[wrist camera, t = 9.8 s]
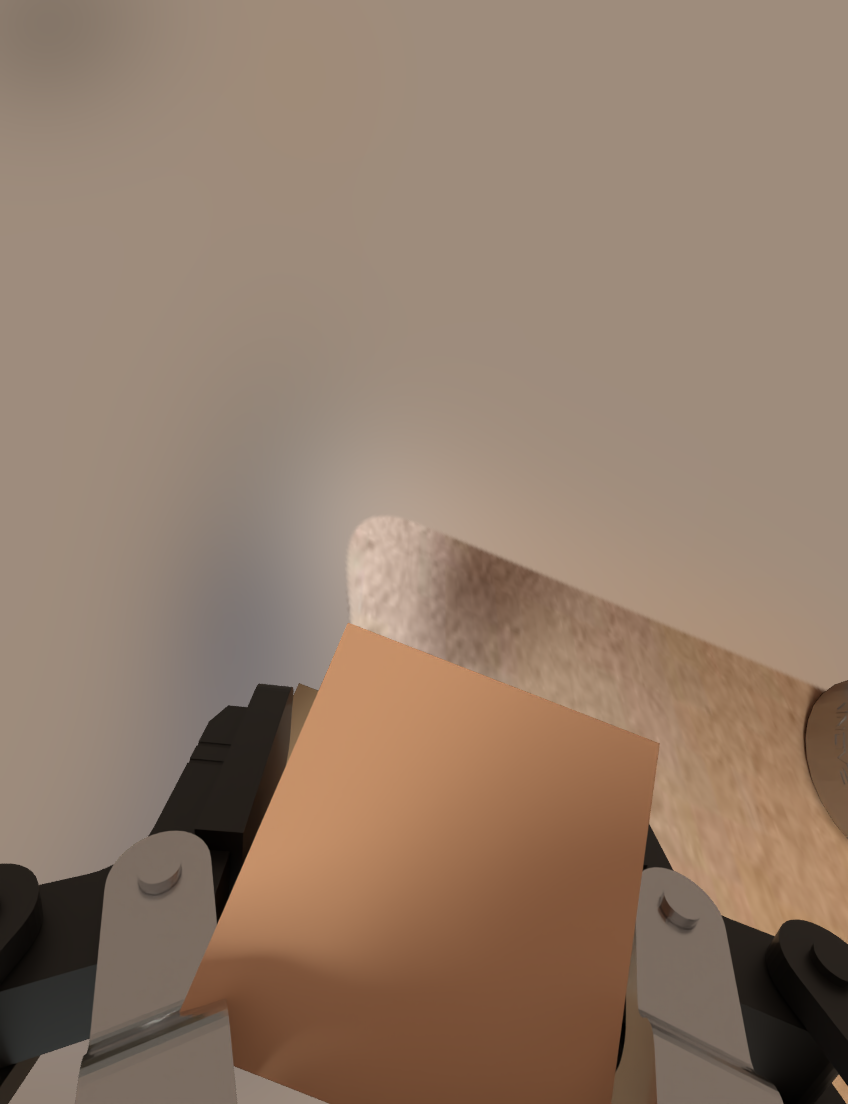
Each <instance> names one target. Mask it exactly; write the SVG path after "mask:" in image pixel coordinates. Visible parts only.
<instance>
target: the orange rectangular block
mask: <svg viewBox="0 0 848 1104" xmlns="http://www.w3.org/2000/svg"><path fill="white" fill-rule="evenodd" d="M658 752H659V743H657V742H654V741H652V740H649V739H647V738H644V737H641V736H639V735H636V734H634V733H631V732H629V731H626V730H623V729H621V728H618V727H616V726H613V725H610V724H608V723H605V722H603V721H600V720H598V719H595V718H592V717H590V716H587V715H585V714H582V713H580V712H577V711H574V710H572V709H569V708H567V707H564V706H561V705H559V704H556V703H554V702H551V701H549V700H546V699H543V698H541V697H538V696H536V695H533V694H531V693H528V692H525V691H523V690H520V689H518V688H515V687H512V686H510V685H507V684H505V683H502V682H500V681H497V680H494V679H492V678H489V677H487V676H484V675H482V674H479V673H476V672H474V671H471V670H469V669H466V668H464V667H461V666H458V665H456V664H453V663H451V662H448V661H445V660H443V659H440V658H438V657H435V656H433V655H430V654H427V653H425V652H422V651H420V650H417V649H415V648H412V647H409V646H407V645H404V644H402V643H399V642H396V641H394V640H391V639H389V638H386V637H384V636H381V635H378V634H376V633H373V632H371V631H368V630H366V629H363V628H360V627H358V626H355V625H353V624H350V623H348V624H347V626H346V629H345V631H344V633H343V636H342V638H341V640H340V643H339V645H338V647H337V649H336V652H335V654H334V656H333V659H332V661H331V663H330V666H329V668H328V670H327V672H326V675H325V677H324V679H323V682H322V684H321V686H320V689H319V691H318V693H317V696H316V698H315V700H314V702H313V705H312V707H311V709H310V712H309V714H308V716H307V719H306V721H305V723H304V726H303V728H302V730H301V732H300V735H299V737H298V739H297V742H296V744H295V746H294V749H293V751H292V753H291V756H290V758H289V760H288V762H287V765H286V767H285V769H284V772H283V774H282V776H281V779H280V781H279V783H278V786H277V788H276V790H275V792H274V795H273V797H272V799H271V802H270V804H269V806H268V809H267V811H266V813H265V816H264V818H263V820H262V822H261V825H260V827H259V829H258V832H257V834H256V836H255V839H254V841H253V843H252V846H251V848H250V850H249V852H248V855H247V857H246V859H245V862H244V864H243V866H242V869H241V871H240V873H239V876H238V878H237V880H236V882H235V885H234V887H233V889H232V892H231V894H230V896H229V899H228V901H227V903H226V906H225V908H224V910H223V912H222V915H221V917H220V919H219V922H218V924H217V926H216V929H215V931H214V933H213V936H212V938H211V940H210V942H209V945H208V947H207V949H206V952H205V954H204V956H203V959H202V961H201V963H200V966H199V968H198V970H197V972H196V975H195V977H194V979H193V982H192V984H191V986H190V989H189V991H188V993H187V996H186V998H185V1000H184V1002H183V1005H182V1007H181V1009H180V1012H182V1011H186V1010H190V1009H193V1008H197V1007H200V1006H204V1005H207V1004H210V1003H213V1002H216V1001H218V1000H221V999H224V998H226V1002H227V1008H228V1015H229V1024H230V1033H231V1044H232V1054H233V1065H234V1066H235V1067H238V1068H240V1069H243V1070H245V1071H248V1072H250V1073H253V1074H255V1075H258V1076H261V1077H263V1078H266V1079H268V1080H271V1081H273V1082H276V1083H279V1084H281V1085H283V1086H286V1087H289V1088H291V1089H294V1090H296V1091H299V1092H302V1093H304V1094H306V1095H309V1096H312V1097H315V1098H317V1099H319V1100H322V1101H325V1102H327V1103H329V1104H611V1101H612V1094H613V1086H614V1079H615V1071H616V1064H617V1056H618V1049H619V1042H620V1034H621V1027H622V1019H623V1012H624V1004H625V997H626V990H627V982H628V975H629V967H630V960H631V952H632V945H633V938H634V930H635V923H636V915H637V908H638V900H639V893H640V886H641V878H642V871H643V863H644V856H645V848H646V841H647V833H648V826H649V819H650V811H651V804H652V796H653V789H654V781H655V774H656V767H657V759H658Z"/></svg>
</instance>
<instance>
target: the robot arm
mask: <svg viewBox="0 0 848 1104" xmlns="http://www.w3.org/2000/svg"><path fill="white" fill-rule="evenodd" d="M292 706H293V687H286V686H277V685H267V684H258V685H257V687H256V689H255V691H254V694H253V696H252V698H251V700H250V703H249V705H248V707H239V706H227V707H226V708H225V709H224V710H222V711H221V712H220V713H219V714H218V715H216V716H215V717H214V718H213V719H212V720H210V721H209V723H208V725H207V727H206V729H205V731H204V732H203V735H202V736H201V738H200V740H199V743H198V746H196V748H195V750H194V752H193V754H192V756H191V757H190V761H189V763H187V765H186V767H185V769H184V771H183V773H182V774H181V776H180V778H179V780H178V782H177V784H176V786H175V788H174V790H173V792H172V794H171V796H170V798H169V800H168V801H167V803H166V805H165V807H164V809H163V811H162V813H161V815H160V817H159V818H158V821H157V822H156V824H155V826H154V828H153V830H152V831H151V833H150V835H149V836H148V837H147V838H144V839H142V840H141V841H139V842H137V843H136V844H134V845H133V846H132V847H130V848H129V849H128V850H126V851H125V852H124V853H123V854H122V855H121V856H120V857H119V859H118V860H117V861H116V862H115V864H114V865H112V866H110V867H108V868H105V869H102V870H100V871H97V872H94V873H90V874H87V875H82V876H78V877H73V878H69V879H64V880H60V881H55V882H51V883H46V884H42V885H38V881H37V878H36V876H35V875H34V874H33V872H32V871H30V870H29V869H27V868H25V867H23V866H20V865H16V864H0V1104H8V1103H9V1101H10V1100H11V1099H12V1097H13V1096H14V1094H15V1093H16V1091H17V1089H18V1088H19V1087H20V1085H21V1084H22V1082H23V1081H24V1079H25V1078H26V1076H27V1075H28V1073H29V1072H30V1070H31V1069H32V1067H33V1066H34V1064H35V1063H36V1061H37V1060H38V1058H39V1057H40V1055H42V1054H45V1053H48V1052H51V1051H54V1050H57V1049H60V1048H63V1047H66V1046H69V1045H72V1044H75V1043H78V1042H81V1041H84V1040H86V1039H90V1040H89V1047H88V1051H87V1054H85V1055H84V1056H83V1059H82V1062H81V1067H80V1072H79V1077H78V1084H77V1091H76V1100H75V1104H237V1097H236V1085H235V1076H234V1065H233V1054H232V1044H231V1033H230V1024H229V1015H228V1008H227V1002H226V998H224V999H221V1000H218V1001H216V1002H213V1003H210V1004H207V1005H204V1006H200V1007H197V1008H193V1009H190V1010H186V1011H182V1012H180V1009H181V1007H182V1005H183V1002H184V1000H185V998H186V996H187V993H188V991H189V989H190V986H191V984H192V982H193V979H194V977H195V975H196V972H197V970H198V968H199V966H200V963H201V961H202V959H203V956H204V954H205V952H206V949H207V947H208V945H209V942H210V940H211V938H212V936H213V933H214V931H215V929H216V926H217V924H218V922H219V919H220V917H221V915H222V912H223V910H224V908H225V906H226V903H227V901H228V899H229V896H230V894H231V892H232V889H233V887H234V885H235V882H236V880H237V878H238V876H239V873H240V871H241V869H242V866H243V864H244V862H245V859H246V857H247V855H248V852H249V850H250V848H251V846H252V843H253V841H254V839H255V836H256V834H257V832H258V829H259V827H260V825H261V822H262V820H263V818H264V816H265V813H266V811H267V809H268V806H269V804H270V802H271V799H272V797H273V795H274V792H275V790H276V788H277V786H278V783H279V781H280V779H281V776H282V774H283V772H284V769H285V767H286V763H287V757H288V751H289V744H290V732H291V719H292ZM806 752H807V761H808V765H809V769H810V773H811V777H812V781H813V783H814V785H815V788H816V790H817V792H818V795H819V797H820V800H821V802H822V804H823V805H824V807H825V808H826V810H827V812H828V813H829V815H830V817H831V818H832V820H833V822H834V823H835V824H836V825H837V827H838V828H839V829H840V830H841V831H842V833H843V834H844V835H845V836H846V838H847V839H848V680H847V681H844V682H841V683H838V684H835V685H834V686H832V687H831V688H829V689H828V690H827V691H825V692H824V693H823V694H822V695H821V696H820V698H819V699H818V700H817V702H816V703H815V704H814V706H813V709H812V711H811V714H810V717H809V719H808V724H807V731H806ZM838 1075H840V1076H841V1077H842V1079H843V1080H844V1082H845V1083H846V1084H847V1086H848V944H847V943H845V942H844V941H843V940H841V939H840V938H839V937H837V936H836V935H834V934H833V933H831V932H830V931H828V930H826V929H824V928H823V927H821V926H818V925H816V924H814V923H811V922H808V921H804V920H789V921H786V922H785V923H784V924H782V926H781V927H780V929H779V931H778V932H777V934H776V935H775V936H772V935H770V934H767V933H765V932H762V931H759V930H757V929H754V928H752V927H749V926H747V925H744V924H741V923H739V922H736V921H734V920H731V919H729V918H726V917H724V916H722V915H721V914H720V912H719V910H718V909H717V907H716V905H715V904H714V903H713V901H712V900H711V899H710V897H709V896H708V895H707V894H706V893H705V892H704V891H703V890H702V889H701V888H700V887H699V886H698V885H696V884H695V883H694V882H692V881H691V880H690V879H688V878H686V877H685V876H683V875H681V874H679V873H677V872H675V871H673V869H672V867H671V865H670V863H669V861H668V859H667V857H666V855H665V853H664V852H663V850H662V848H661V846H660V844H659V842H658V840H657V838H656V836H655V834H654V832H653V830H652V829H651V827H650V825H649V826H648V833H647V841H646V848H645V856H644V863H643V871H642V878H641V886H640V893H639V900H638V908H637V915H636V923H635V930H634V938H633V945H632V952H631V960H630V967H629V975H628V982H627V990H626V997H625V1004H624V1012H623V1019H622V1027H621V1034H620V1042H619V1049H618V1056H617V1064H616V1071H615V1079H614V1086H613V1094H612V1101H611V1104H846V1103H845V1101H844V1100H843V1098H842V1097H841V1096H840V1094H839V1093H838V1091H837V1090H836V1088H835V1087H834V1086H833V1084H832V1082H833V1081H834V1079H835V1078H836V1077H837V1076H838Z"/></svg>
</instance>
